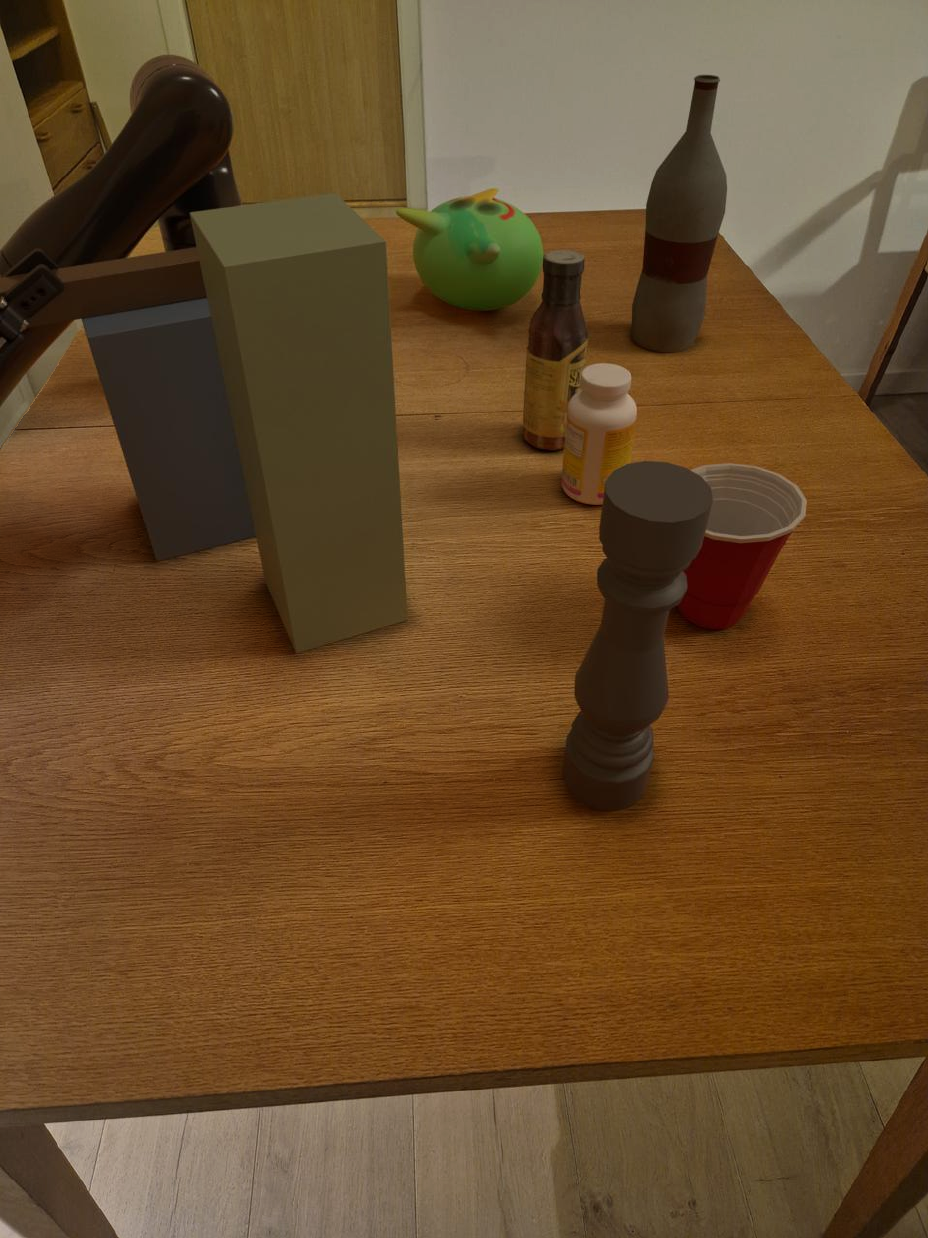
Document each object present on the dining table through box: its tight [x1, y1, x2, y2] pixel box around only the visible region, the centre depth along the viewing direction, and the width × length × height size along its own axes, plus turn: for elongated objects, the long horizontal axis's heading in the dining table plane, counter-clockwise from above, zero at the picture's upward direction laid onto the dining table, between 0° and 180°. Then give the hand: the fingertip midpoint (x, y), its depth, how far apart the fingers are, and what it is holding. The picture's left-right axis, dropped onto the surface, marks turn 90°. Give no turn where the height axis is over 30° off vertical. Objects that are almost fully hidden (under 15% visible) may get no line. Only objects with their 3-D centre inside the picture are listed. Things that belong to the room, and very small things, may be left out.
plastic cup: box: [677, 462, 808, 630], centre depth 72 cm, size 11×11×12 cm
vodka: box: [631, 74, 728, 354], centre depth 104 cm, size 9×9×30 cm
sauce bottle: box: [522, 248, 589, 451], centre depth 90 cm, size 7×6×20 cm
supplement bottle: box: [561, 362, 638, 506], centre depth 85 cm, size 7×7×13 cm
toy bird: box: [395, 187, 544, 312], centre depth 117 cm, size 18×17×15 cm
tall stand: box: [190, 192, 409, 654], centre depth 66 cm, size 10×10×32 cm
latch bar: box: [0, 247, 207, 328], centre depth 69 cm, size 24×3×3 cm, turn 114°
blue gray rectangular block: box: [81, 297, 256, 562], centre depth 78 cm, size 10×10×22 cm
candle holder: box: [561, 460, 713, 812], centre depth 54 cm, size 6×6×25 cm
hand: (51, 267), depth 66 cm, fingers closed on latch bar, 3 cm apart
